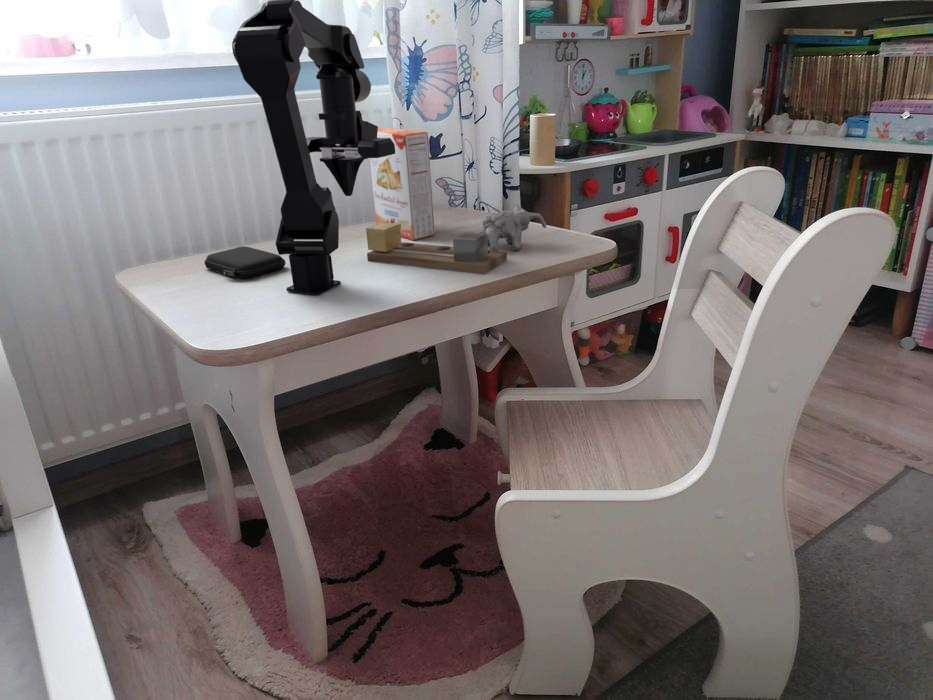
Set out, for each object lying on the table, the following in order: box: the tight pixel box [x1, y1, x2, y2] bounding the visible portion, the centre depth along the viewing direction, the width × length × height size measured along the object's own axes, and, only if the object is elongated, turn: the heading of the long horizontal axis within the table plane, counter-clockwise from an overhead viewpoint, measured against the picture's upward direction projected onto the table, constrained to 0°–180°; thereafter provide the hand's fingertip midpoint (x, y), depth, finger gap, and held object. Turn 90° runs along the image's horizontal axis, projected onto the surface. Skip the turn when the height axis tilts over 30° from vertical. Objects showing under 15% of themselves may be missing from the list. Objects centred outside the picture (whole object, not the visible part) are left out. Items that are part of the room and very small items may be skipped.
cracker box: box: [369, 127, 436, 242], centre depth 142 cm, size 14×6×21 cm, turn 38°
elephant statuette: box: [481, 203, 547, 252], centre depth 131 cm, size 9×12×8 cm
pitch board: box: [366, 231, 508, 275], centre depth 124 cm, size 9×24×6 cm, turn 62°
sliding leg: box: [365, 222, 402, 252], centre depth 128 cm, size 8×4×4 cm, turn 152°
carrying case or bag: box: [204, 246, 287, 280], centre depth 125 cm, size 11×3×15 cm
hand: (348, 195), depth 127 cm, fingers closed
